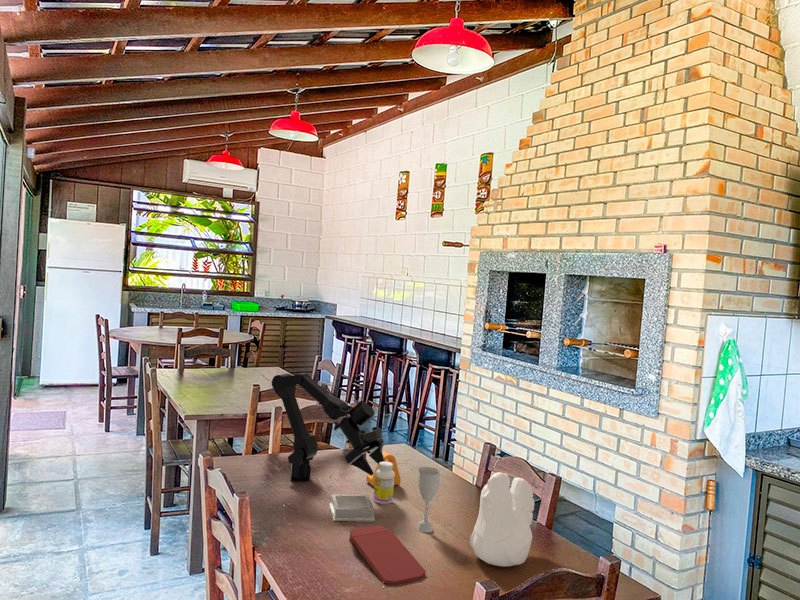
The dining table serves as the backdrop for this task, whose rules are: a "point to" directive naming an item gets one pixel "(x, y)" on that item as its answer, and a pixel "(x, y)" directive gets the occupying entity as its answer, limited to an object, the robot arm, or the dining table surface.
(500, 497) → the white bunny figurine
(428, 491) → the chalice
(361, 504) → the square shallow tray
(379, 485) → the supplement bottle
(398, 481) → the bracket
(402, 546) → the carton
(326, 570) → the dining table surface
